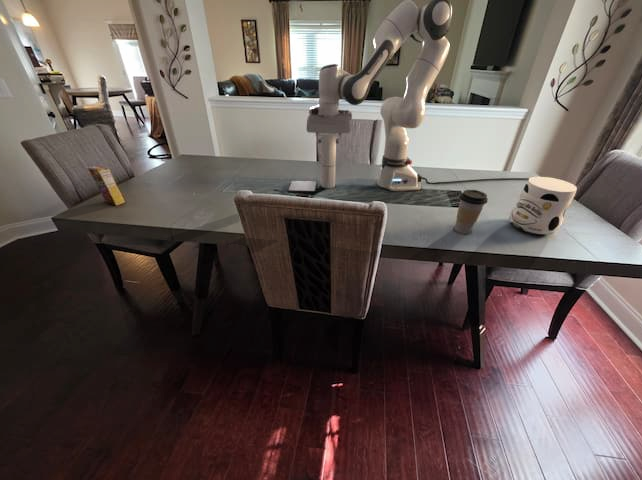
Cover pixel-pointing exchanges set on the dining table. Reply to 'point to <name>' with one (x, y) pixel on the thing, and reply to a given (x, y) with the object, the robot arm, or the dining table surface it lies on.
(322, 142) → the cylindrical container
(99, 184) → the candy box
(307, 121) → the robot arm
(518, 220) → the milk container
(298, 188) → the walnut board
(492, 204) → the dining table surface
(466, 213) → the coffee cup
